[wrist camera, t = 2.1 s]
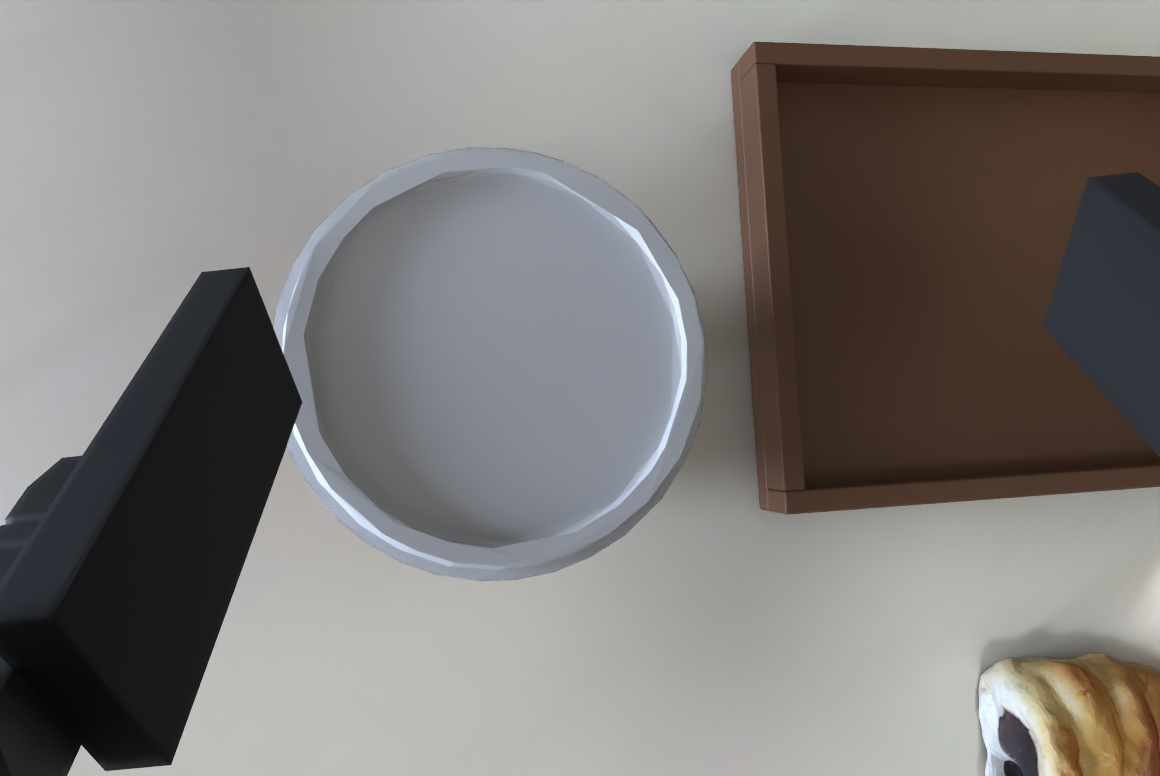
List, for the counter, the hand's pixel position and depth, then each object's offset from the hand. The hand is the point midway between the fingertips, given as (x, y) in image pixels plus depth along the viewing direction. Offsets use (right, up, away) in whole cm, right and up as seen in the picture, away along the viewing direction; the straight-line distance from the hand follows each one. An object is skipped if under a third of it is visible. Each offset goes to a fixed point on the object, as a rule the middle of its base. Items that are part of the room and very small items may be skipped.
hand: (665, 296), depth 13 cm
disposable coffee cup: (-5, -2, +15) cm, 16 cm away
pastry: (+17, -15, +18) cm, 29 cm away
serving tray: (+14, +3, +19) cm, 24 cm away
